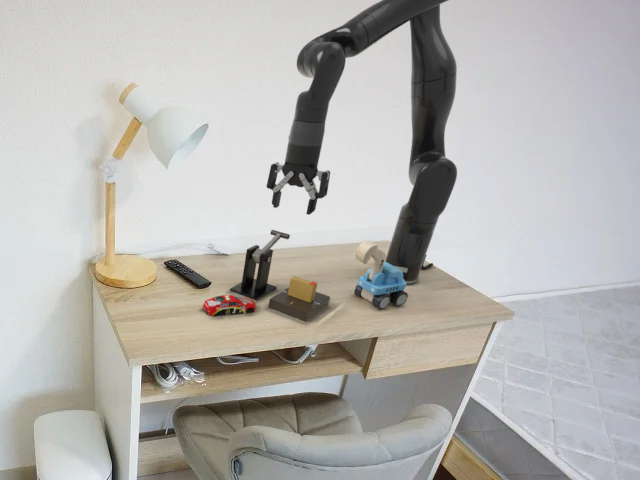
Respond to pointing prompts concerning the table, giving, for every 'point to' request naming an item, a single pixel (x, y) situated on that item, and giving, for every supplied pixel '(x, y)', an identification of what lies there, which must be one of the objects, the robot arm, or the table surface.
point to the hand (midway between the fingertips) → (292, 210)
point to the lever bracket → (257, 286)
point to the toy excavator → (379, 278)
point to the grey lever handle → (269, 244)
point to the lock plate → (298, 305)
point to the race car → (228, 305)
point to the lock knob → (302, 289)
